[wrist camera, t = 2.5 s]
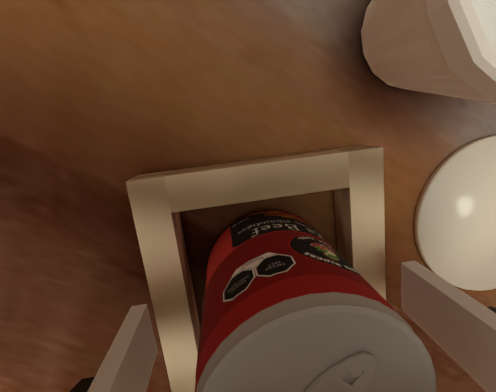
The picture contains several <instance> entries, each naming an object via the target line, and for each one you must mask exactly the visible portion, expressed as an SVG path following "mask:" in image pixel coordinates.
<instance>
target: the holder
mask: <svg viewBox="0 0 496 392" xmlns="http://www.w3.org/2000/svg"><path fill="white" fill-rule="evenodd" d="M125 182H126V187H127V191H128V196H129V200H130V205H131V210H132V214H133V219H134V223H135V228H136V232H137V237H138V241H139V246H140V250H141V255H142V259H143V264H144V268H145V273H146V277H147V282H148V286H149V291H150V295H151V300H152V304H153V309H154V314H155V318H156V323H157V327H158V332H159V336H160V341H161V345H162V350H163V354H164V359H165V363H166V368H167V372H168V377H169V381H170V386H171V390H172V392H195V375H196V365H197V356H198V347H199V337H200V328H201V327H200V322H199V316H198V311H197V306H196V300H195V295H194V289H193V284H192V278H191V273H190V267H189V262H188V256H187V251H186V245H185V240H184V235H183V229H182V224H181V218H180V213H179V212H180V211H187V210H194V209H201V208H208V207H215V206H222V205H229V204H236V203H243V202H250V201H257V200H264V199H271V198H278V197H285V196H292V195H299V194H306V193H313V192H320V191H327V190H334V207H335V224H336V242H337V252H338V253H339V254H340V255H341V256H342V257H343V258H344V259H345V260H346V261H347V262H348V263H349V264H350V265H351V266H352V267H353V268H354V269H355V270H356V271H357V272H358V273H359V274H360V275H361V276H362V277H363V278H364V279H365V280H366V281H367V282H368V283H369V284H370V285H371V286H372V287H373V288H374V289H375V290H376V291H377V292H378V293H379V294H380V295H381V296H382V297H383V298H384V299H385V300H386V274H385V219H384V163H383V147H378V146H367V145H358V146H351V147H343V148H336V149H328V150H321V151H313V152H306V153H298V154H291V155H283V156H276V157H268V158H261V159H253V160H246V161H238V162H231V163H223V164H216V165H208V166H201V167H193V168H186V169H178V170H171V171H163V172H156V173H148V174H141V175H137V176H135V177H133V178H131V179H129V180H127V181H125Z"/></svg>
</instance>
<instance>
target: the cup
mask: <svg viewBox="0 0 496 392" xmlns="http://www.w3.org/2000/svg"><path fill="white" fill-rule="evenodd" d="M361 40H362V49H363V55H364V57H365V59H366V61H367V63H368V65H369V67H370V69H371V71H372V73H373V74H375V75H376V76H377V77H379V78H380V79H381V80H382V81H384V82H385V83H386V84H387V85H389V86H393V87H398V88H402V89H406V90H412V91H419V92H425V93H432V94H438V95H444V96H451V97H457V98H464V99H470V100H476V101H483V102H489V103H496V0H372V1H371V2H370V4H369V5H368V7H367V9H366V13H365V17H364V21H363V25H362V29H361Z"/></svg>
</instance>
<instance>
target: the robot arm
mask: <svg viewBox="0 0 496 392" xmlns="http://www.w3.org/2000/svg"><path fill="white" fill-rule="evenodd" d="M401 309H402V310H403V311H404V312H405V313H406V314H407V315H408V316H409V317H410V318H411V319H412V320H413V321H414V322H415V323H416V324H417V325H418V326H419V327H420V328H421V329H422V330H423V331H424V332H425V333H426V334H427V335H428V336H429V337H430V338H431V339H432V340H433V341H434V342H435V343H437V344H438V345H439V346H440V347H441V348H442V349H443V350H444V351H445V352H446V353H447V354H448V355H449V356H450V357H451V358H452V359H453V360H454V361H455V362H456V363H457V364H458V365H459V366H460V367H461V368H462V369H463V370H464V371H465V372H466V373H467V374H468V375H469V376H470V377H471V378H473V379H474V380H475V381H476V382H477V383H478V384H479V385H480V386H481V387H482V388H483V389H484V390H485V391H486V392H496V308H494V307H492V306H491V307H485V306H484V305H482V304H481V303H479V302H478V301H476V300H475V299H473V298H472V297H470V296H469V295H467V294H466V293H464V292H462V291H461V290H459V289H458V288H456V287H455V286H453V285H452V284H450V283H449V282H447V281H446V280H444V279H443V278H441V277H439V276H438V275H436V274H435V273H433V272H432V271H430V270H429V269H427V268H426V267H424V266H423V265H421V264H420V263H418V262H417V261H408V262H402V263H401ZM157 352H158V350H157V346H156V341H155V337H154V332H153V328H152V323H151V319H150V315H149V310H148V306H147V304H142V305H136V306H131V308H130V310H129V312H128V314H127V316H126V318H125V320H124V321H123V323H122V325H121V327H120V329H119V331H118V333H117V335H116V337H115V339H114V341H113V343H112V345H111V347H110V349H109V351H108V353H107V354H106V356H105V358H104V360H103V362H102V364H101V366H100V368H99V370H98V372H97V374H96V376H95V377H91V378H85V379H81V381H80V382H79V383H78V384H77V385H76V386H75V387H74V388H73V389H72V390H71V391H70V392H146V390H147V387H148V383H149V380H150V376H151V373H152V369H153V366H154V362H155V359H156V355H157Z"/></svg>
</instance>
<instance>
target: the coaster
mask: <svg viewBox="0 0 496 392" xmlns="http://www.w3.org/2000/svg"><path fill="white" fill-rule="evenodd" d="M414 237H415V242H416V246H417V249H418V252H419V254H420V256H421V258H422V260H423V261H424V263H425V264H426V265H427V267H428V268H429V269H430V270H431V271H432V272H433V273H435V274H436V275H438V276H439V277H441V278H443V279H444V280H446V281H447V282H449V283H450V284H452V285H454V286H456V287H459V288H463V289H468V290H490V289H495V288H496V135H492V136H487V137H483V138H480V139H477V140H474V141H472V142H470V143H468V144H466V145H463V146H462V147H460V148H459V149H457V150H456V151H454V152H453V153H452V154H450V155H449V156H448V157H447V158H446V159H444V161H443V162H442V163H441V164H440V165H439V166H438V167H437V168H436V169H435V171H434V172H433V173H432V174H431V176H430V177H429V179H428V181H427V182H426V184H425V185H424V188H423V190H422V192H421V194H420V196H419V199H418V202H417V205H416V210H415V215H414Z"/></svg>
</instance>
